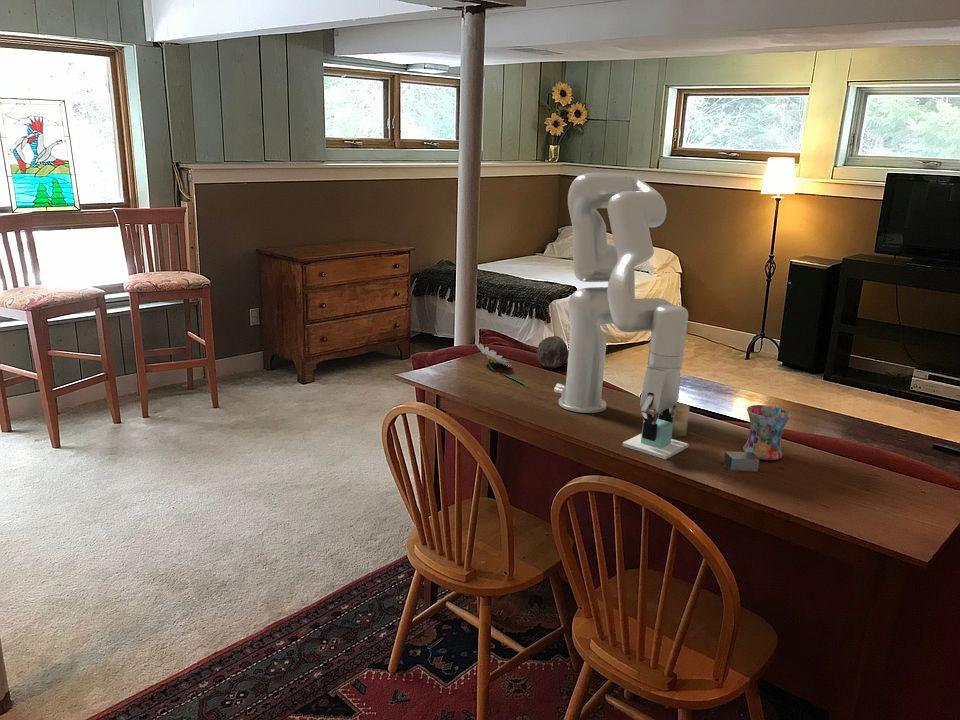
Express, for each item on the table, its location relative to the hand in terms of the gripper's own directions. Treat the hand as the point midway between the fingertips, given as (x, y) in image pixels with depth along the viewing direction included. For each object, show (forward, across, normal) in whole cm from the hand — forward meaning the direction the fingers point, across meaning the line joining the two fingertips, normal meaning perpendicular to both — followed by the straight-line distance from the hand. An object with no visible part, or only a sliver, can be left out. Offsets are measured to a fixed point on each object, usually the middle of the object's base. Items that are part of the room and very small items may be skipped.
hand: (656, 434), depth 174 cm
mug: (+3, -15, +20) cm, 25 cm away
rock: (+3, -39, -57) cm, 69 cm away
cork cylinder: (+3, -12, -1) cm, 12 cm away
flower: (+3, -19, -62) cm, 64 cm away
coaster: (+3, 0, 0) cm, 3 cm away
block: (+2, 0, 0) cm, 2 cm away
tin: (+3, -3, +19) cm, 19 cm away
